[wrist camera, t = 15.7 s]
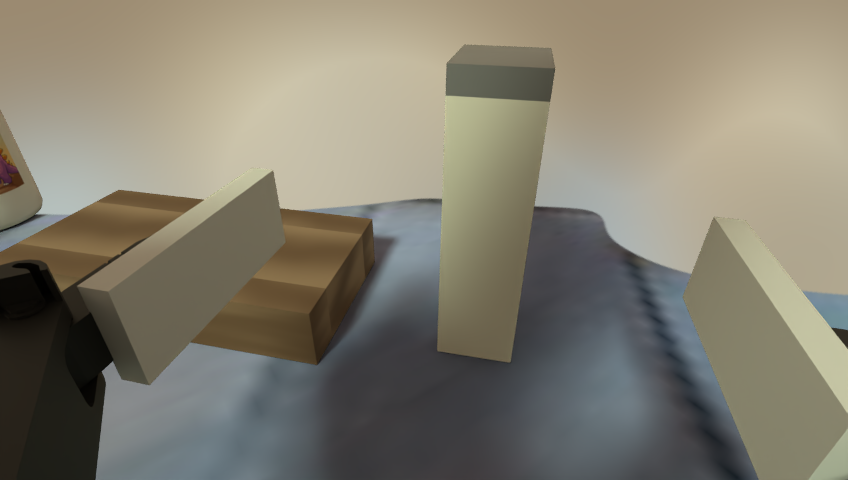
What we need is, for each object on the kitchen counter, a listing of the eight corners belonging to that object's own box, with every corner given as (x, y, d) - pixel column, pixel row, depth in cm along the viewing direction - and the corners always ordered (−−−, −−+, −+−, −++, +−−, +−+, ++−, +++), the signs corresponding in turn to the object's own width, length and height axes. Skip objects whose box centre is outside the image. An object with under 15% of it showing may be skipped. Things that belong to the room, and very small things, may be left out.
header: (317, 365, 24) (308, 314, 22) (10, 309, 27) (-19, 261, 26) (374, 262, 32) (372, 218, 30) (133, 230, 36) (118, 189, 34)
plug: (510, 362, 24) (555, 68, 16) (437, 351, 25) (446, 63, 17) (514, 304, 28) (551, 48, 21) (451, 295, 29) (464, 44, 21)
